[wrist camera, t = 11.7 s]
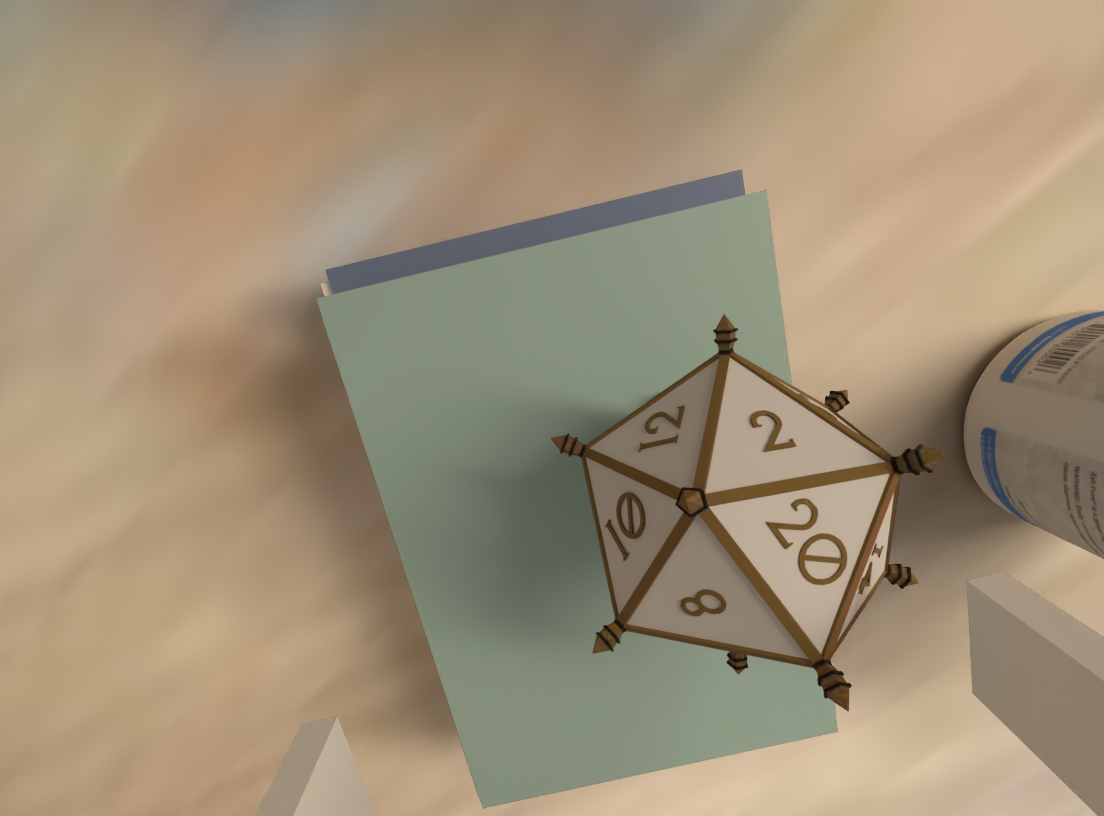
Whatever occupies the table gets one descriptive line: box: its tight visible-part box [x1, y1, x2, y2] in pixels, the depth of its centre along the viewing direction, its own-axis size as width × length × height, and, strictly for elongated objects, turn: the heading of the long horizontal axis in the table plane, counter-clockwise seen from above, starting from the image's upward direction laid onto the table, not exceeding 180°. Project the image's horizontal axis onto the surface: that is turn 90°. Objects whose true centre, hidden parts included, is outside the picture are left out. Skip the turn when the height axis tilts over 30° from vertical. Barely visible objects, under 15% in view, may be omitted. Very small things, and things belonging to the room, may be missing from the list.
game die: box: [551, 314, 947, 711], centre depth 14 cm, size 9×8×10 cm
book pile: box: [316, 170, 838, 808], centre depth 22 cm, size 22×15×6 cm
